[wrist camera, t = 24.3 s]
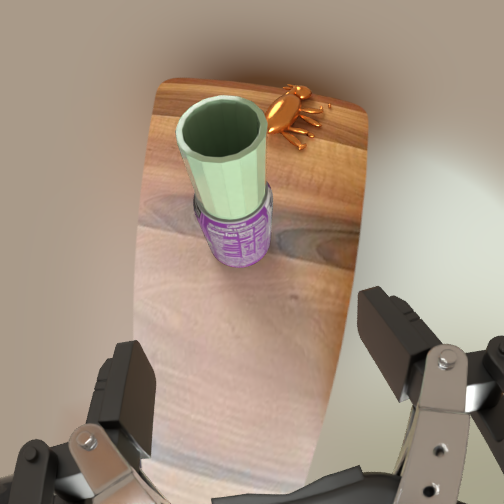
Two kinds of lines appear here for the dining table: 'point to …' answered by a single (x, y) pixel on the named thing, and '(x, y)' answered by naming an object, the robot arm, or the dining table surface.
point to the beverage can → (238, 233)
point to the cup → (225, 154)
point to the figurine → (291, 114)
